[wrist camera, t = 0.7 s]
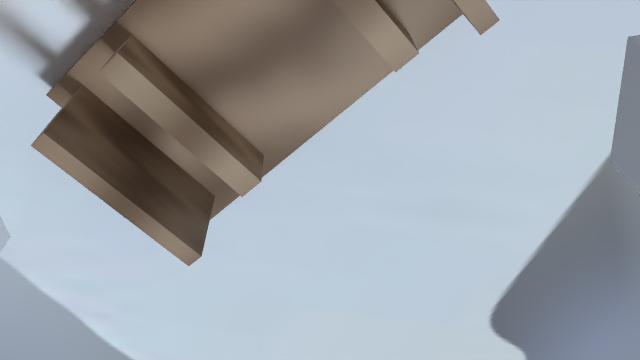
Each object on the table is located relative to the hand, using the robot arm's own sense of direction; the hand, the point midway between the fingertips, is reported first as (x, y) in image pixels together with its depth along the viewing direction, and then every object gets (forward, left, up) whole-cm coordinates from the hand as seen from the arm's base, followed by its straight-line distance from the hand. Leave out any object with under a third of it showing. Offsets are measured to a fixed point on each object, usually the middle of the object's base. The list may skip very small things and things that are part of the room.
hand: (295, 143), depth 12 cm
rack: (+2, -5, -22) cm, 23 cm away
